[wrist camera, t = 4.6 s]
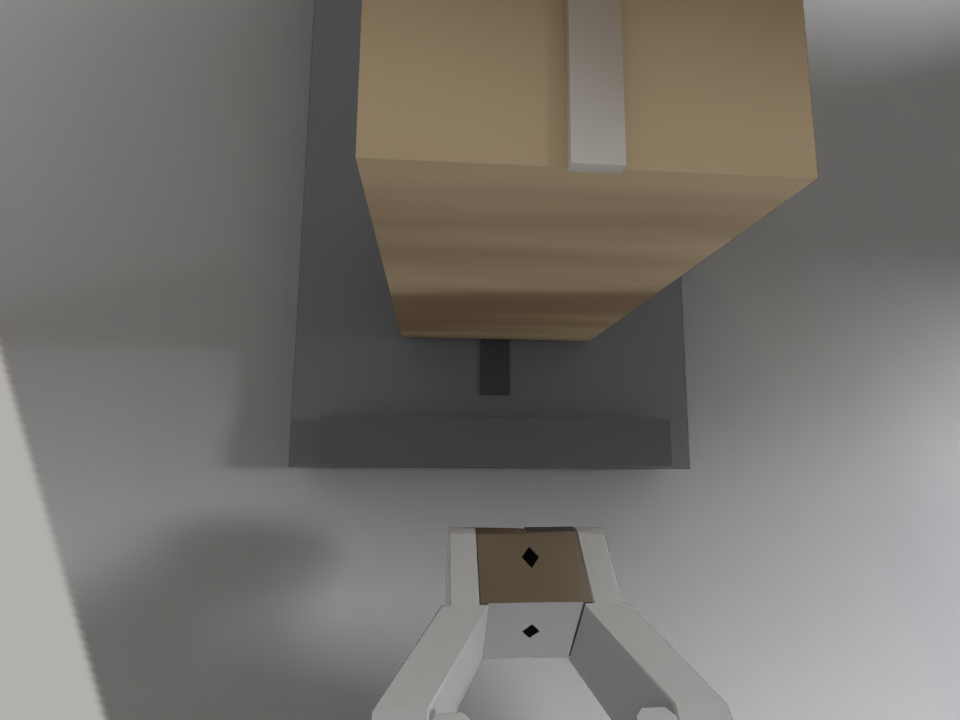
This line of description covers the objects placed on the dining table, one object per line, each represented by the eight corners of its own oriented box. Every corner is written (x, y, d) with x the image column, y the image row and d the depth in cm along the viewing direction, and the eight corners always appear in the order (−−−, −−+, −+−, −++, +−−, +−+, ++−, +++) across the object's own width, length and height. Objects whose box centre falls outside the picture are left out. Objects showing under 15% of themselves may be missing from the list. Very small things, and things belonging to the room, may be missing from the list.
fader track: (662, 467, 19) (709, 470, 16) (304, 465, 18) (277, 467, 15) (635, -205, 23) (668, -311, 19) (340, -232, 22) (325, -349, 19)
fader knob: (589, 343, 17) (830, 174, 7) (401, 339, 16) (352, 152, 6) (586, 203, 17) (801, -144, 7) (405, 196, 17) (367, -182, 7)
